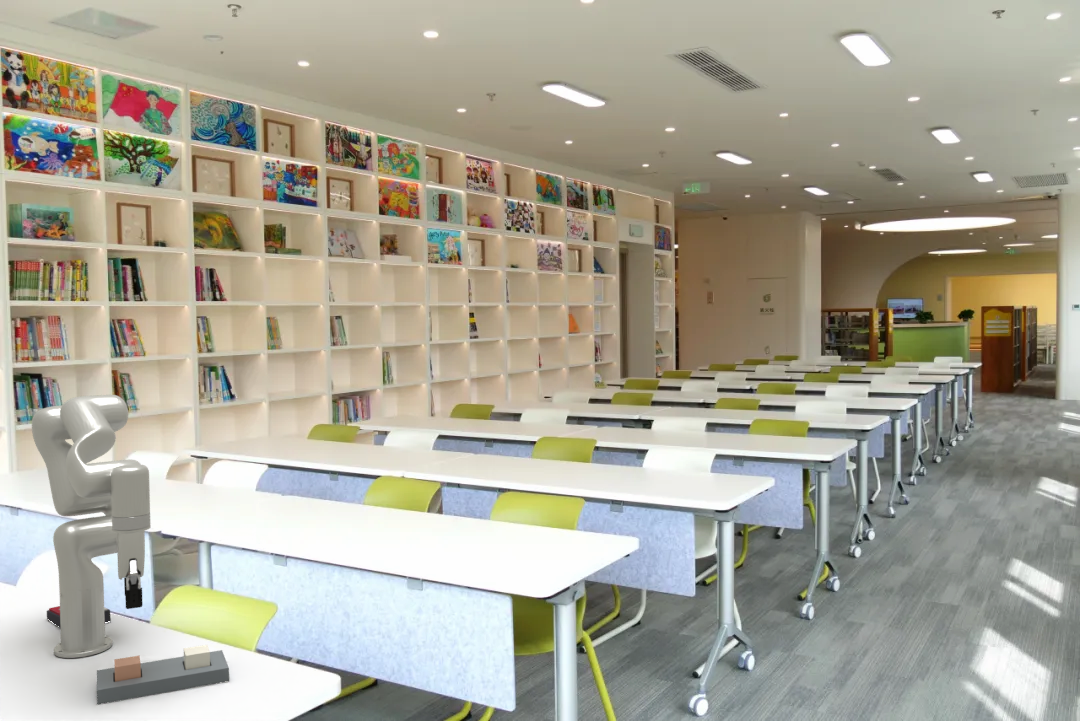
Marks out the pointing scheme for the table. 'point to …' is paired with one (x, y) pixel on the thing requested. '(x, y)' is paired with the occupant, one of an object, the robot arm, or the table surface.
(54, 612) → the calculator
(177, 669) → the key panel
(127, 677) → the terracotta key
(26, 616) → the table surface
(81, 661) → the table surface
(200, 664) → the cream key
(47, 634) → the table surface
